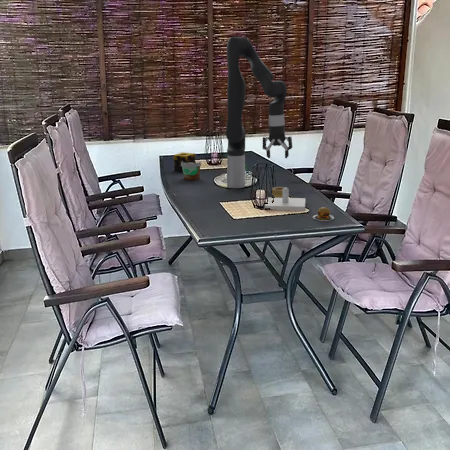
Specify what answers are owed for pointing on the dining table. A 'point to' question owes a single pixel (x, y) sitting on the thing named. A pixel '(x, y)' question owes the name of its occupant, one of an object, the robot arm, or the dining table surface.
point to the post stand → (286, 202)
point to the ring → (277, 192)
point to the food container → (191, 171)
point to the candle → (185, 158)
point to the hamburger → (323, 214)
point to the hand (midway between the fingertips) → (277, 157)
